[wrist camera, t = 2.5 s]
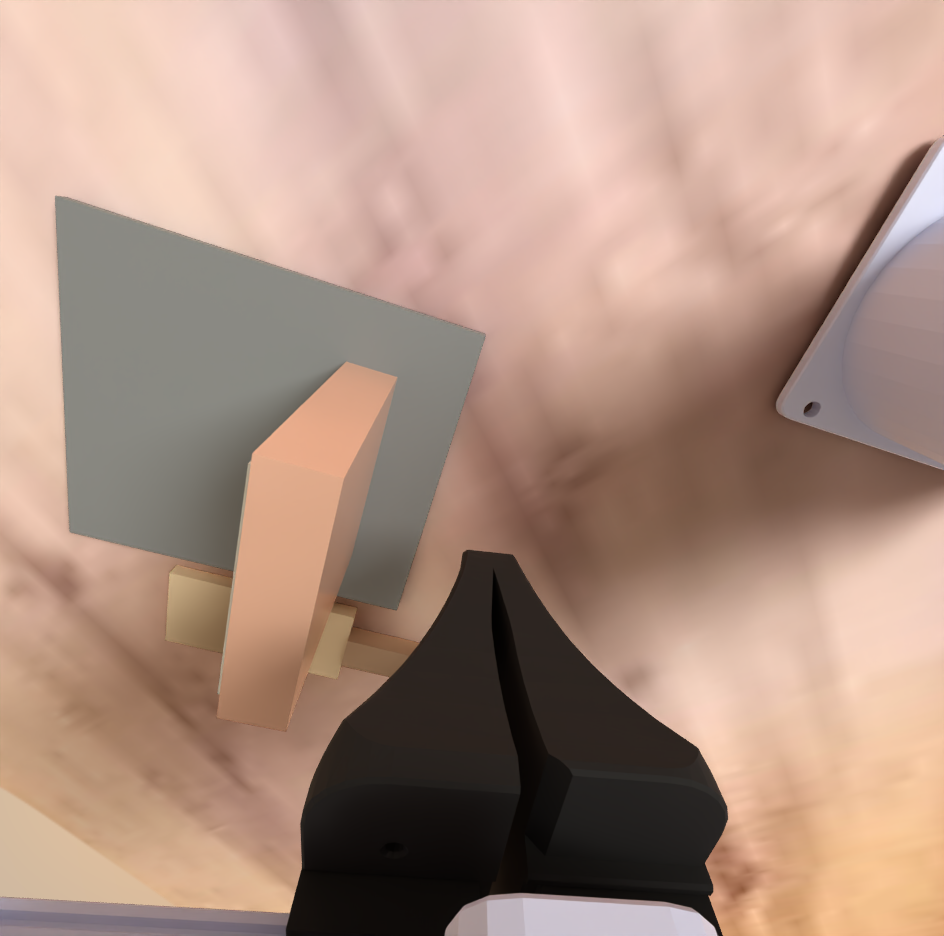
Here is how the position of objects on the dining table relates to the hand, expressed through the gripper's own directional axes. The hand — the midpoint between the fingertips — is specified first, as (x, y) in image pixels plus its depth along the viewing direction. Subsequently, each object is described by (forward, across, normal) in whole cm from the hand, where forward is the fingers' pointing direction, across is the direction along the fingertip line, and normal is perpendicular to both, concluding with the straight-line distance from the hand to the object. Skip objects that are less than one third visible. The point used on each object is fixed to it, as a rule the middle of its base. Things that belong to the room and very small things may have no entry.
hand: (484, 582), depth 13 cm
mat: (+5, +8, -1) cm, 9 cm away
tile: (+4, +5, -1) cm, 6 cm away
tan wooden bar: (+5, +4, +8) cm, 10 cm away
